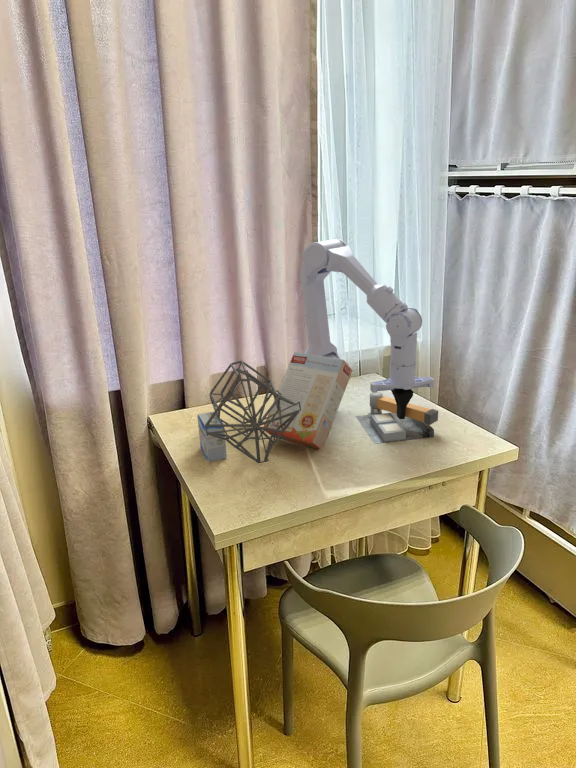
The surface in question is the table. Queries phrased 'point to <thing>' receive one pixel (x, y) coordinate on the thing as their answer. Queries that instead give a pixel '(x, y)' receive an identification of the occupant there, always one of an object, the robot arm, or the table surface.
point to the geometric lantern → (253, 419)
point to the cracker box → (311, 398)
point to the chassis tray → (410, 425)
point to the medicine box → (211, 438)
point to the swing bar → (411, 410)
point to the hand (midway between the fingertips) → (400, 417)
